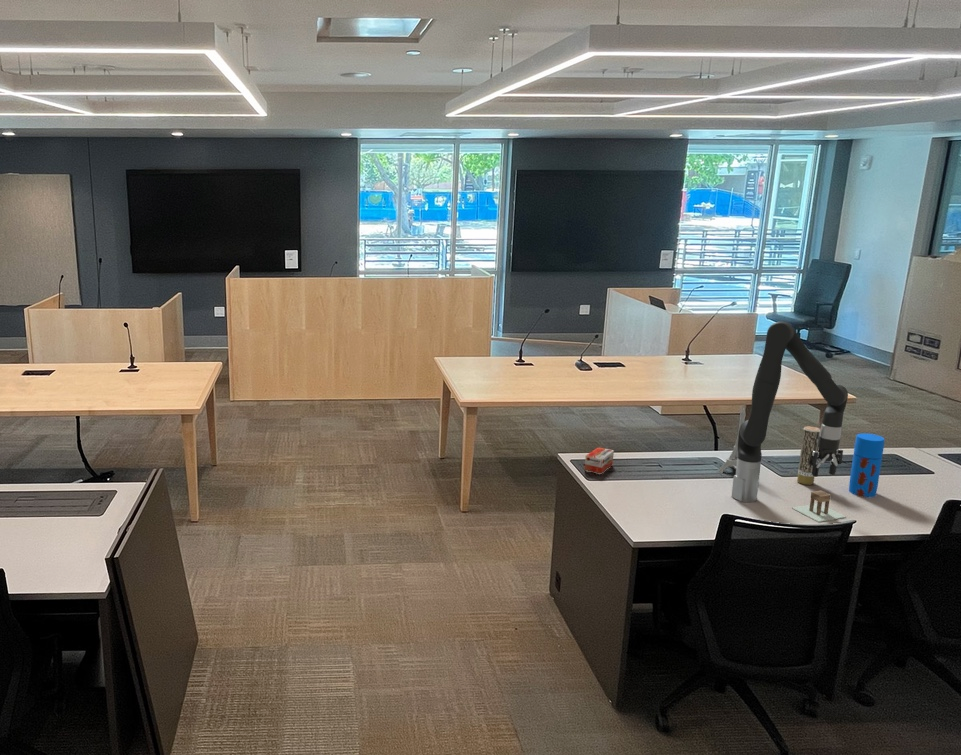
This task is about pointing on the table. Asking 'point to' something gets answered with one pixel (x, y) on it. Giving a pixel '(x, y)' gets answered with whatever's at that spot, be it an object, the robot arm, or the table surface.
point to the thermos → (866, 465)
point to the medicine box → (599, 460)
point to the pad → (822, 517)
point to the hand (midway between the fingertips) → (823, 475)
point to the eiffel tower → (734, 455)
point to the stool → (819, 501)
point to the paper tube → (807, 454)
